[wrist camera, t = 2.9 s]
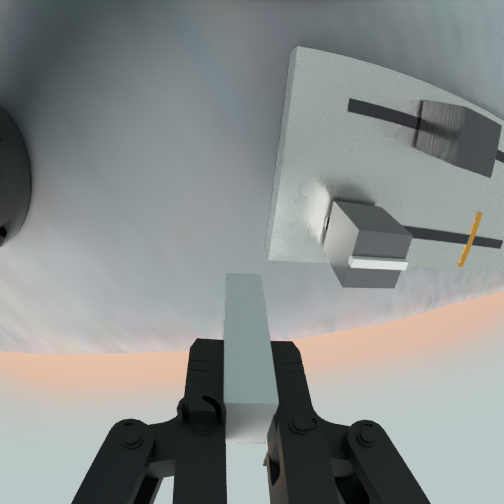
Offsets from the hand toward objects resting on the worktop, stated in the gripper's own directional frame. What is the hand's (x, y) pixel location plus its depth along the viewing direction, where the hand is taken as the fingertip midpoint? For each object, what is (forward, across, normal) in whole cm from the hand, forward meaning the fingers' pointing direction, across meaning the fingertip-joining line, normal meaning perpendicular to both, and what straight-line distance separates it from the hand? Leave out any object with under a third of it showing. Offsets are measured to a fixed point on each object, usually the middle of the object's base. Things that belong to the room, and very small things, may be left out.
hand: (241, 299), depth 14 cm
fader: (+9, +9, 0) cm, 12 cm away
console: (+12, +18, +5) cm, 22 cm away
